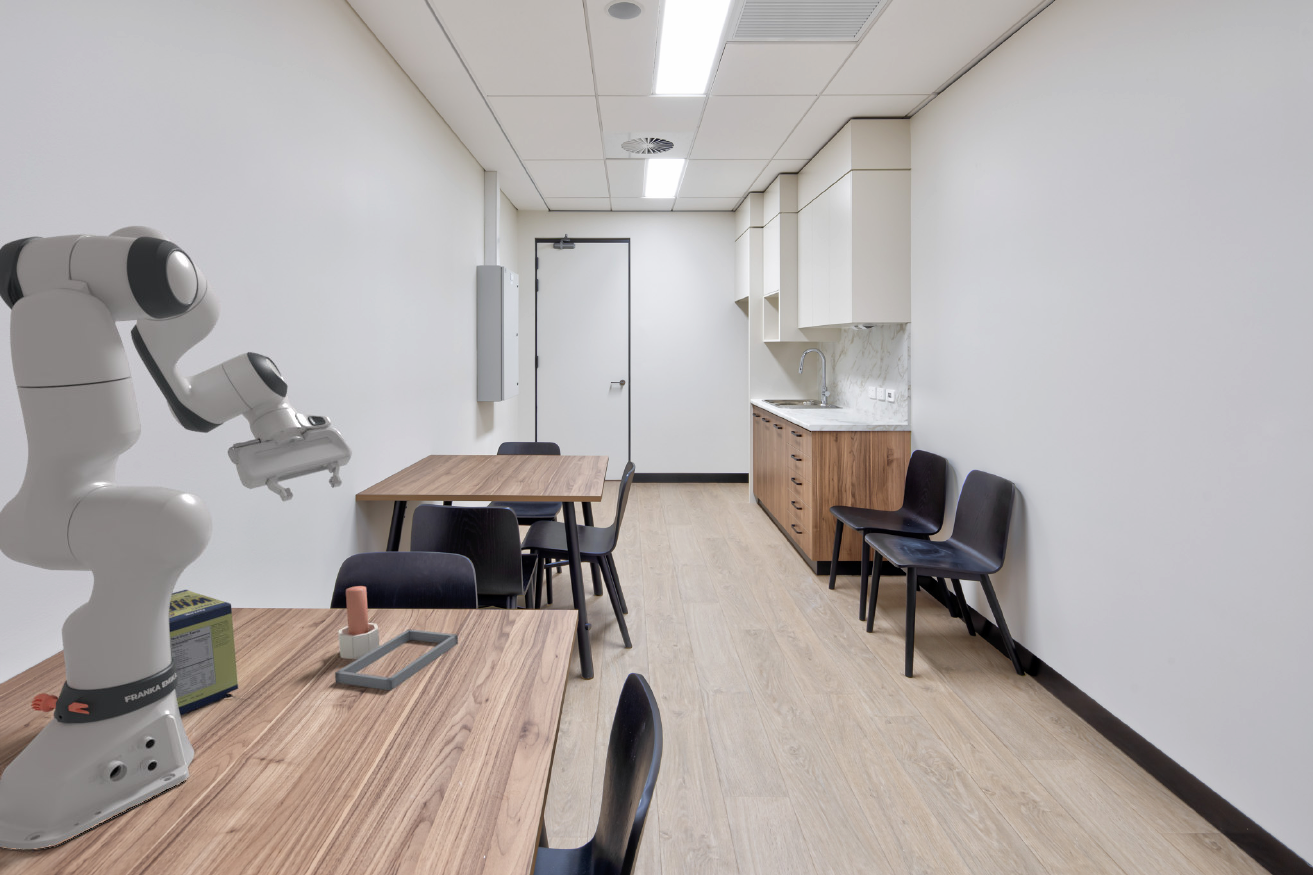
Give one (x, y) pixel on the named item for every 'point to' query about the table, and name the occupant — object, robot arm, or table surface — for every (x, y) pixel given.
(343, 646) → the cup
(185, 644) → the protein box
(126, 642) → the robot arm
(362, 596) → the sausage
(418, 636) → the tray
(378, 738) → the table surface
